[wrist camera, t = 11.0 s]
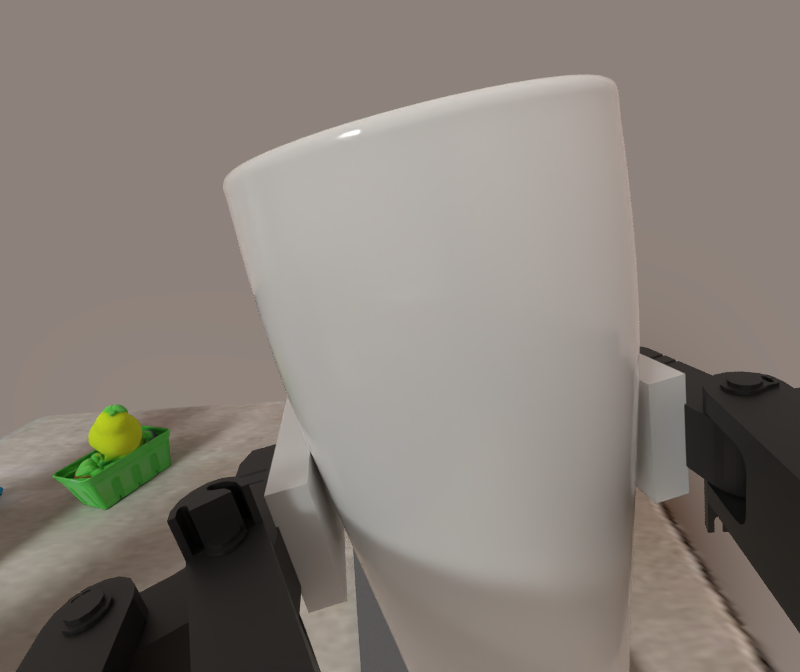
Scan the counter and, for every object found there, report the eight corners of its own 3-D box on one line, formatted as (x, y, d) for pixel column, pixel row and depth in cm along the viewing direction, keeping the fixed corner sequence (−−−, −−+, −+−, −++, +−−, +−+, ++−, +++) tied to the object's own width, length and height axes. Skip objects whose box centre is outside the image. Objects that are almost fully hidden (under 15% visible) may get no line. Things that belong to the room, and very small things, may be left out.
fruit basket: (151, 455, 63) (119, 385, 60) (191, 460, 59) (159, 385, 55) (67, 510, 54) (24, 430, 50) (107, 521, 49) (62, 435, 46)
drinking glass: (409, 615, 16) (284, 186, 11) (602, 589, 15) (548, 121, 11) (404, 907, 9) (109, 179, 5) (739, 886, 9) (750, 10, 4)
